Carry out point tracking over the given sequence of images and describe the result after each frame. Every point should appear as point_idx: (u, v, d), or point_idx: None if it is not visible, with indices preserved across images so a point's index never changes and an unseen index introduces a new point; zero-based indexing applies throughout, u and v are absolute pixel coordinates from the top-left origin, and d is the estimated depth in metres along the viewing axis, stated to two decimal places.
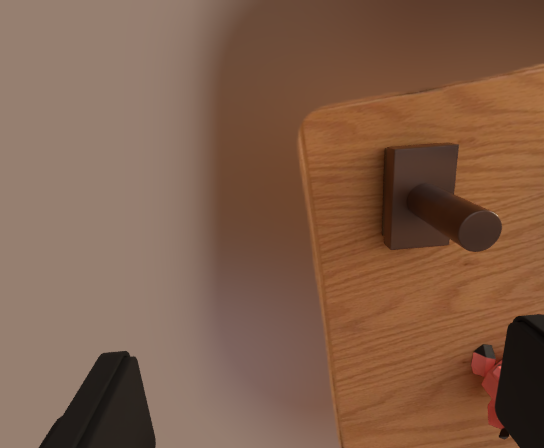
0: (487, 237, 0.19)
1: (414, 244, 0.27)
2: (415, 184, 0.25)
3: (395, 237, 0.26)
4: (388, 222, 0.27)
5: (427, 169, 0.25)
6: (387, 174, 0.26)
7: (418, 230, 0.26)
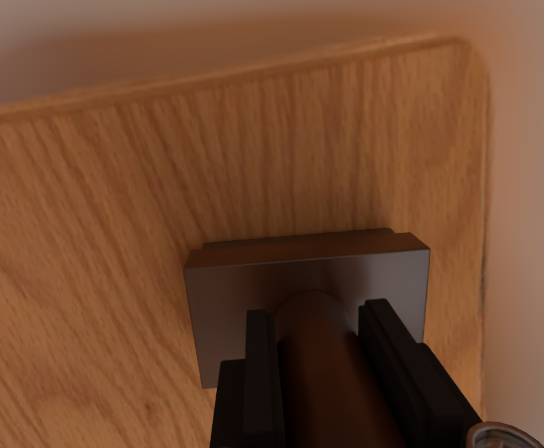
0: None
1: (201, 321, 0.11)
2: (347, 302, 0.11)
3: (217, 276, 0.11)
4: (249, 255, 0.11)
5: None
6: (356, 239, 0.12)
7: (236, 323, 0.11)
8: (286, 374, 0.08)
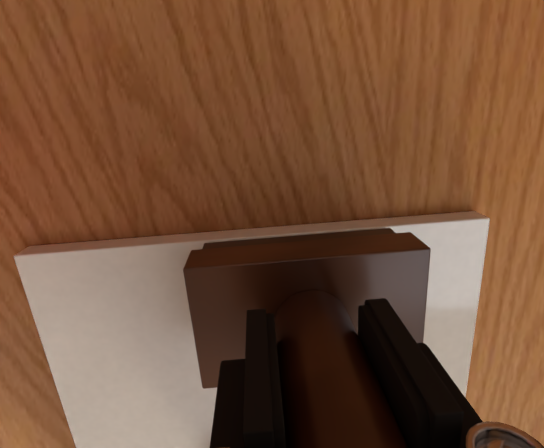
0: None
1: (201, 321, 0.11)
2: (347, 302, 0.11)
3: (217, 276, 0.11)
4: (250, 254, 0.11)
5: None
6: (356, 239, 0.12)
7: (236, 323, 0.11)
8: (286, 374, 0.08)
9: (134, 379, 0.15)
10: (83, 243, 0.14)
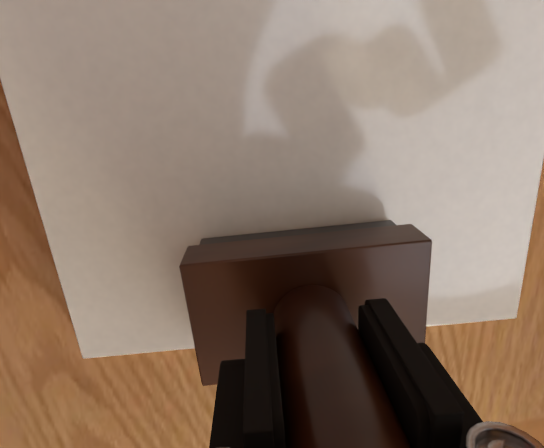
0: None
1: (199, 317, 0.11)
2: (347, 296, 0.11)
3: (214, 272, 0.10)
4: (247, 249, 0.11)
5: None
6: (356, 232, 0.12)
7: (235, 320, 0.11)
8: (285, 371, 0.08)
9: (111, 91, 0.11)
10: None
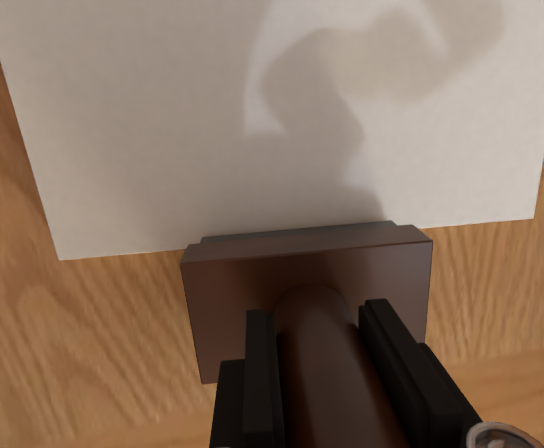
0: None
1: (199, 316, 0.11)
2: (348, 296, 0.11)
3: (215, 270, 0.10)
4: (248, 248, 0.11)
5: None
6: (357, 232, 0.12)
7: (235, 318, 0.11)
8: (286, 370, 0.08)
9: None
10: None
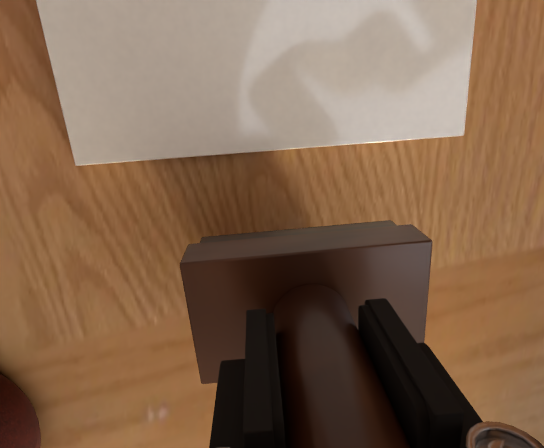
0: None
1: (199, 316, 0.11)
2: (347, 296, 0.11)
3: (214, 270, 0.10)
4: (247, 248, 0.11)
5: None
6: (356, 232, 0.12)
7: (235, 318, 0.11)
8: (285, 370, 0.08)
9: None
10: None
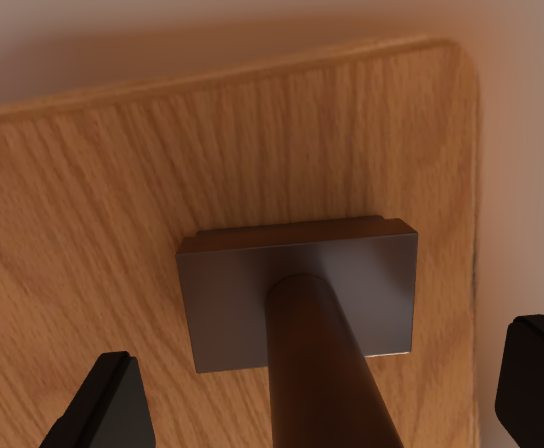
0: None
1: (194, 306, 0.11)
2: (337, 286, 0.11)
3: (209, 261, 0.11)
4: (241, 240, 0.11)
5: (368, 304, 0.12)
6: (346, 225, 0.12)
7: (229, 308, 0.11)
8: (275, 352, 0.09)
9: None
10: None
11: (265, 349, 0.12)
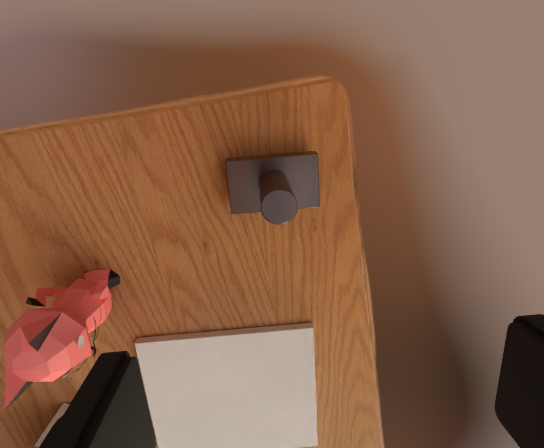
0: (273, 214, 0.23)
1: (231, 183, 0.29)
2: (287, 175, 0.29)
3: (238, 164, 0.29)
4: (250, 157, 0.29)
5: (300, 184, 0.29)
6: (292, 153, 0.30)
7: (245, 184, 0.29)
8: (261, 185, 0.26)
9: (177, 388, 0.37)
10: (159, 337, 0.36)
11: (259, 203, 0.30)
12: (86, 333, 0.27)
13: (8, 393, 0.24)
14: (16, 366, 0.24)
